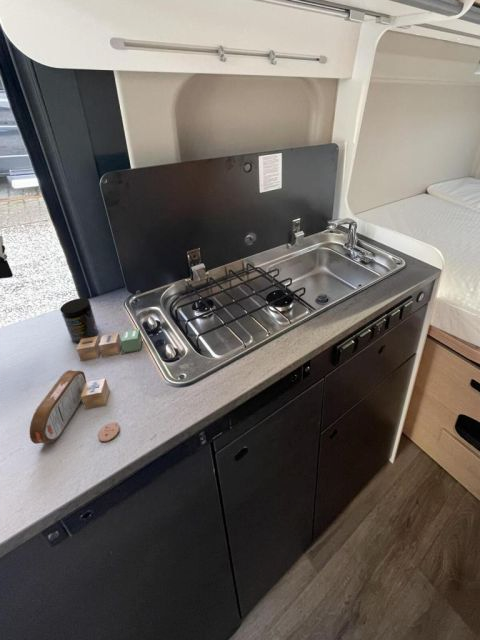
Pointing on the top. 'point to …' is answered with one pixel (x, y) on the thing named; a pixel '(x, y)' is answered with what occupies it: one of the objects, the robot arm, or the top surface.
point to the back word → (101, 346)
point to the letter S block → (131, 340)
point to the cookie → (108, 431)
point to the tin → (57, 407)
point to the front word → (95, 393)
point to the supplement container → (79, 319)
